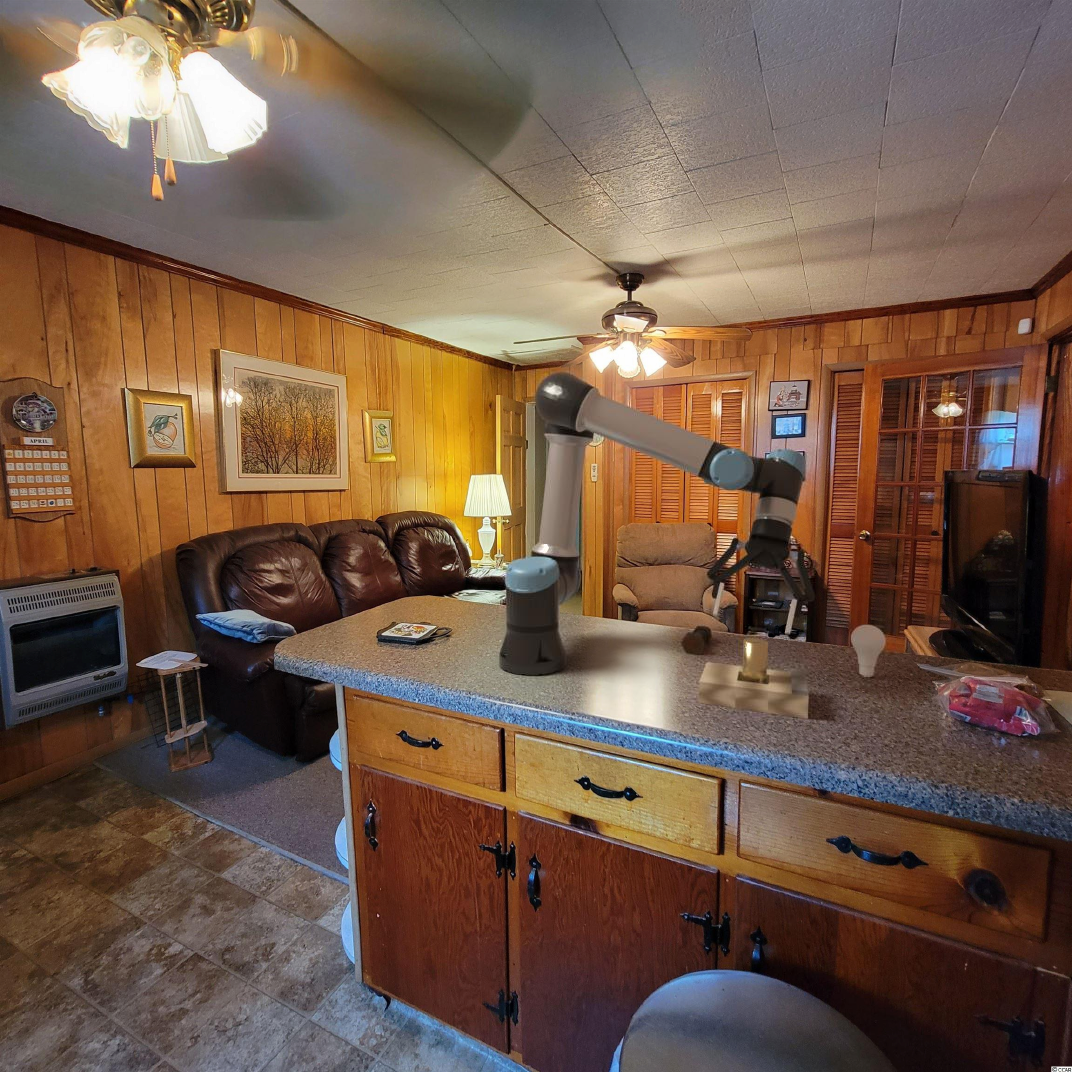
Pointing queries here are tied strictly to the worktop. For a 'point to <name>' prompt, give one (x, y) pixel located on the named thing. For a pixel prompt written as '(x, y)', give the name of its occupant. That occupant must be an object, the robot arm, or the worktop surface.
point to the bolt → (696, 640)
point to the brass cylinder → (755, 660)
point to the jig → (755, 690)
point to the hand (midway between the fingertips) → (750, 624)
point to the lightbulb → (867, 647)
